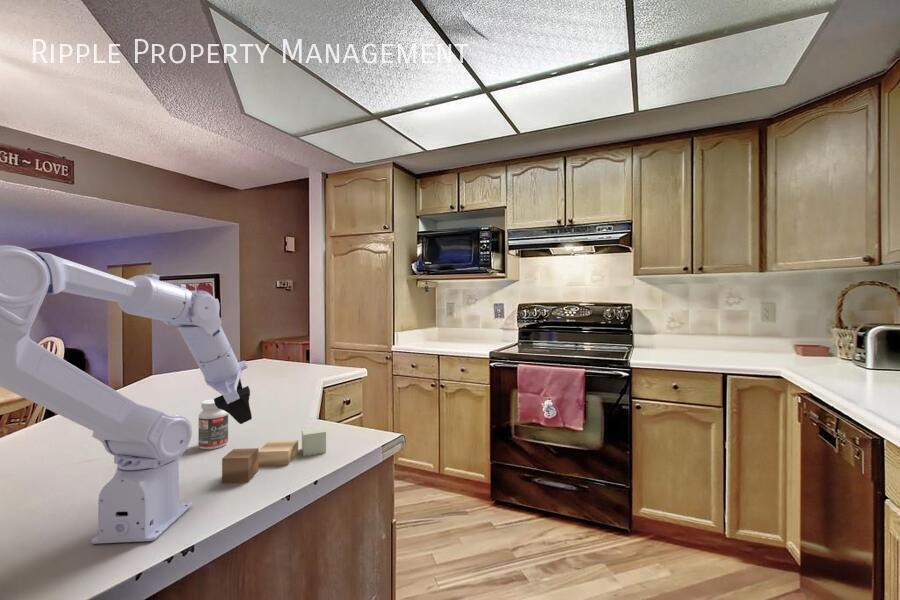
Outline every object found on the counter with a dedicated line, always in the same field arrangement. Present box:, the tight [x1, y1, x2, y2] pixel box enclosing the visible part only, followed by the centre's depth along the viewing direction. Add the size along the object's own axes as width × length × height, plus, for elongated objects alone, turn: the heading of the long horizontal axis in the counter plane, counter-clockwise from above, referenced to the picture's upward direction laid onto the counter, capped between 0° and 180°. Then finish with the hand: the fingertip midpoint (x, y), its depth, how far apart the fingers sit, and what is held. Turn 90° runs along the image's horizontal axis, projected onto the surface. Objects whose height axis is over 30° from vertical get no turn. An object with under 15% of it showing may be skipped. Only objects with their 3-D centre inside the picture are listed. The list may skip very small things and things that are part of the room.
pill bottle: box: [197, 398, 229, 450], centre depth 89 cm, size 6×6×10 cm
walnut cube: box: [221, 447, 260, 484], centre depth 73 cm, size 4×4×4 cm
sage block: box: [301, 425, 327, 457], centre depth 86 cm, size 4×4×4 cm
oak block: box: [259, 439, 299, 466], centre depth 81 cm, size 6×6×3 cm
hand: (242, 409), depth 77 cm, fingers open, 7 cm apart
